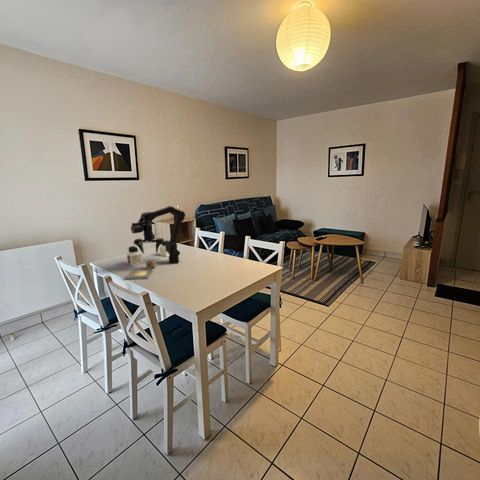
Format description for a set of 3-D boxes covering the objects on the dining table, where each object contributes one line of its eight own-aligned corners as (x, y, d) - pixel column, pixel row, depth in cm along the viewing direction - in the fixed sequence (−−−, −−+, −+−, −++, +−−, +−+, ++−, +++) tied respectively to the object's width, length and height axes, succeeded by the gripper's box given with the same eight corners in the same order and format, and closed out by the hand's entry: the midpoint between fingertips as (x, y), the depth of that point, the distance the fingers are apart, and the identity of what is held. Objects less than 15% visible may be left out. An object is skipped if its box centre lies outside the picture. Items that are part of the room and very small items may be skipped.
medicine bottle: (172, 254, 215) (171, 240, 212) (166, 256, 209) (165, 242, 206) (165, 253, 218) (164, 239, 215) (160, 255, 212) (158, 241, 209)
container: (133, 265, 188) (131, 248, 185) (127, 263, 192) (125, 247, 189) (142, 263, 194) (140, 246, 191) (136, 261, 198) (135, 244, 195)
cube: (155, 267, 185) (155, 260, 184) (154, 269, 180) (153, 262, 179) (148, 267, 185) (148, 260, 183) (146, 269, 180) (146, 263, 179)
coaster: (153, 271, 177) (153, 269, 176) (147, 278, 163) (147, 276, 163) (132, 271, 176) (132, 270, 175) (125, 279, 162) (124, 277, 162)
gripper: (164, 228, 185) (166, 249, 188) (137, 229, 183) (139, 250, 187) (160, 231, 174) (162, 254, 177) (132, 232, 173) (134, 254, 176)
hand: (150, 253), depth 180 cm, fingers open, 9 cm apart
